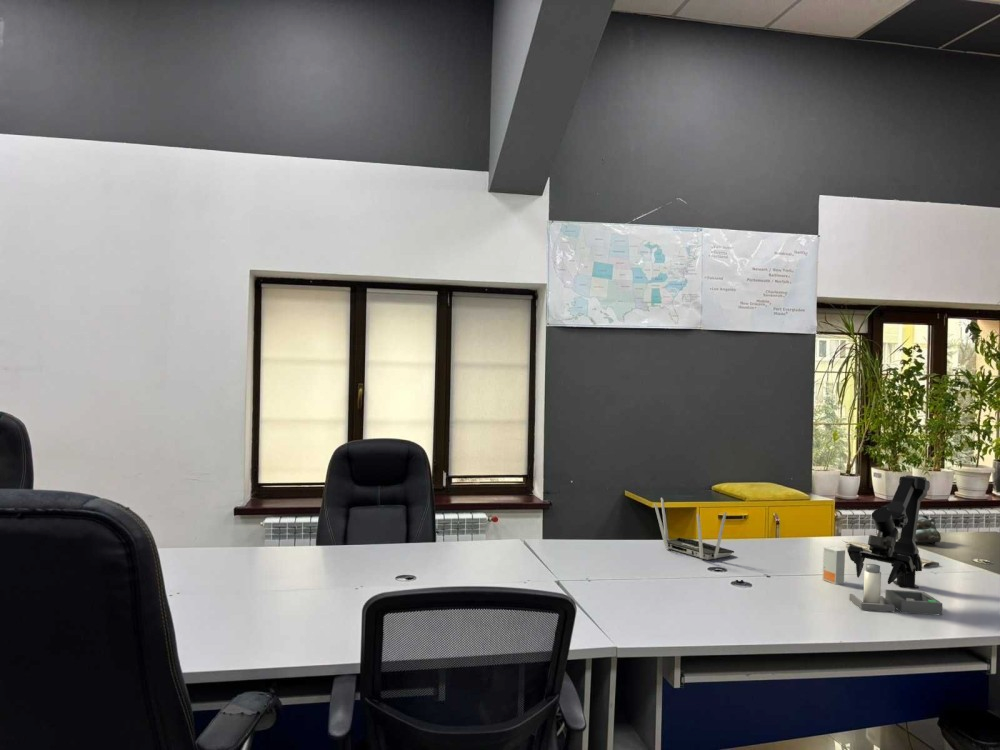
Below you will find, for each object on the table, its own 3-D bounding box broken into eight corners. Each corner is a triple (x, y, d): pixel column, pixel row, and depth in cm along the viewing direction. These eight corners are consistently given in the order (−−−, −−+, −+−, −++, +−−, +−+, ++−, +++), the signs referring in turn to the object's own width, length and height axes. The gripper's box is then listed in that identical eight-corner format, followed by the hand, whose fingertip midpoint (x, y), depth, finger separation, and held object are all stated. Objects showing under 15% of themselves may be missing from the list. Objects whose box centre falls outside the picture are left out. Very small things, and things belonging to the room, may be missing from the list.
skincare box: (821, 579, 259) (823, 546, 259) (830, 578, 261) (831, 545, 261) (835, 584, 254) (837, 550, 254) (844, 583, 255) (845, 550, 255)
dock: (885, 600, 237) (885, 587, 237) (923, 602, 236) (924, 590, 236) (901, 612, 225) (901, 599, 225) (942, 615, 224) (942, 601, 224)
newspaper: (939, 567, 285) (939, 558, 285) (919, 570, 279) (920, 561, 279) (858, 546, 316) (858, 538, 316) (839, 548, 310) (839, 540, 310)
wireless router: (746, 559, 285) (748, 509, 284) (707, 567, 272) (709, 514, 272) (680, 541, 312) (682, 495, 312) (642, 547, 300) (644, 499, 299)
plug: (860, 602, 234) (862, 562, 234) (876, 603, 233) (877, 563, 233) (866, 607, 229) (868, 566, 229) (882, 608, 228) (883, 567, 228)
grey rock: (901, 543, 322) (895, 513, 329) (908, 550, 330) (902, 520, 337) (939, 539, 314) (932, 508, 320) (945, 546, 322) (938, 515, 328)
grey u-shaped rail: (849, 599, 237) (849, 593, 237) (881, 601, 236) (881, 595, 236) (861, 609, 227) (861, 603, 227) (894, 611, 226) (894, 605, 226)
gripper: (850, 520, 242) (836, 558, 234) (912, 531, 229) (899, 571, 221) (857, 541, 247) (844, 578, 240) (918, 552, 234) (906, 592, 226)
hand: (872, 579), depth 231 cm, fingers open, 9 cm apart
